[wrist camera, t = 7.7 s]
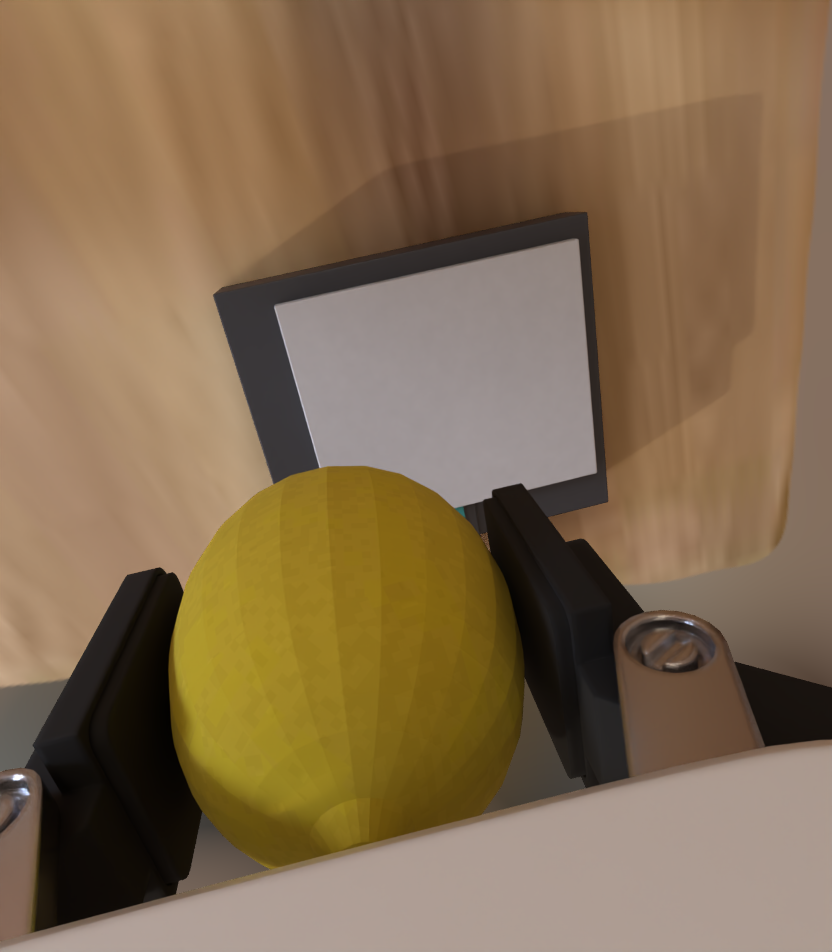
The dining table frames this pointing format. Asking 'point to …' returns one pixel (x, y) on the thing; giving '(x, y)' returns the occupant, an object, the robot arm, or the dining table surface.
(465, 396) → the scale
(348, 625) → the lemon
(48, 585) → the dining table surface
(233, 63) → the dining table surface
